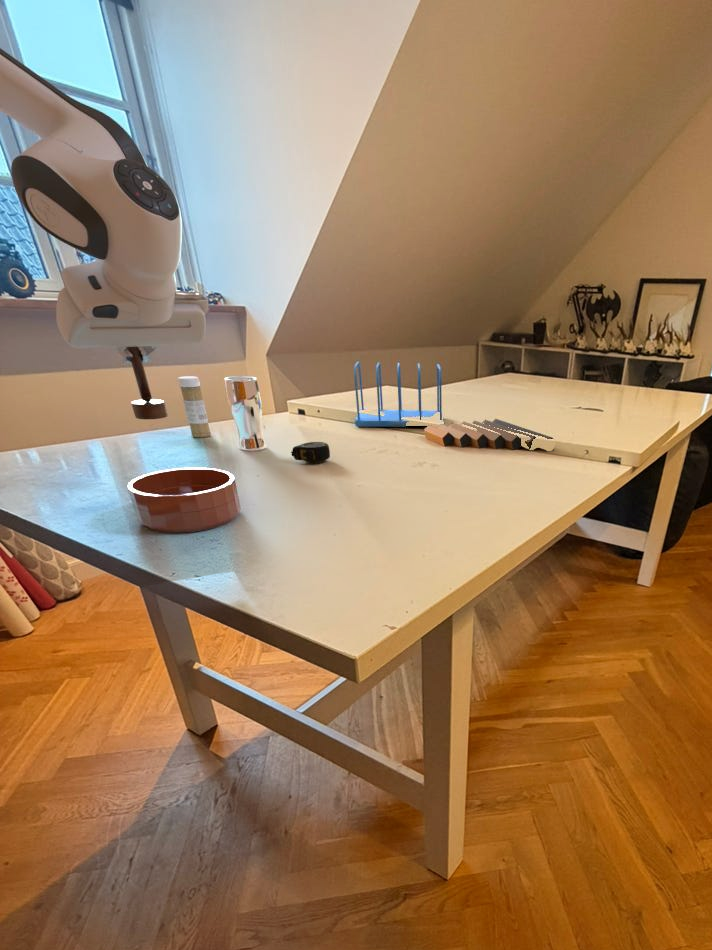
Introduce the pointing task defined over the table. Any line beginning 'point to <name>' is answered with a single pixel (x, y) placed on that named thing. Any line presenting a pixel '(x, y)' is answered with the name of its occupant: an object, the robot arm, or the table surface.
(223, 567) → the table surface
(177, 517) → the bowl
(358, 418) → the file sorter
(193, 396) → the sprinkles bottle
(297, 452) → the tape measure
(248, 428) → the beer glass
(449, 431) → the pan flute
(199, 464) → the table surface
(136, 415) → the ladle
